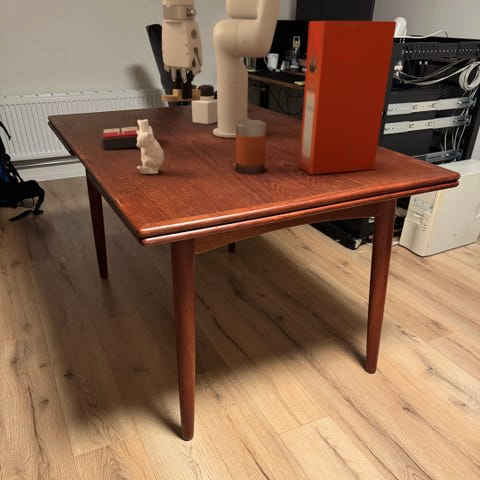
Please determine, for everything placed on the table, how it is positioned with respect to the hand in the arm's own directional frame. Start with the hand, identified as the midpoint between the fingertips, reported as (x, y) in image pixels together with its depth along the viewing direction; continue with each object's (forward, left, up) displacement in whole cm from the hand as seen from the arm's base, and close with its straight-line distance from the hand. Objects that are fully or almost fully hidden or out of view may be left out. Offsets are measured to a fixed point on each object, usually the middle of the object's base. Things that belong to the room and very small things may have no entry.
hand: (183, 97), depth 124 cm
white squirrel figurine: (+14, +12, -15) cm, 24 cm away
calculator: (+11, -18, -15) cm, 26 cm away
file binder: (-30, +29, -15) cm, 44 cm away
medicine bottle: (-23, -40, -15) cm, 49 cm away
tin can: (-9, +21, -15) cm, 27 cm away
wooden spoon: (+1, +1, -1) cm, 1 cm away
